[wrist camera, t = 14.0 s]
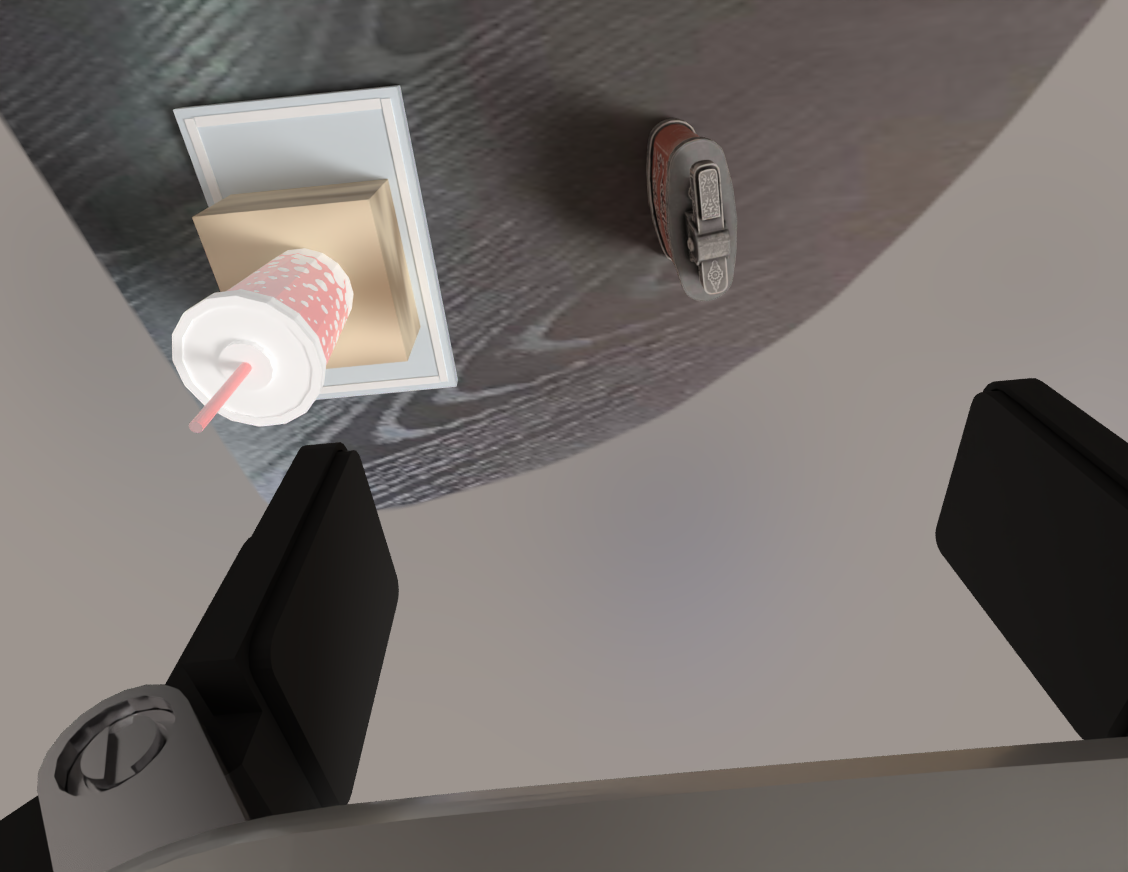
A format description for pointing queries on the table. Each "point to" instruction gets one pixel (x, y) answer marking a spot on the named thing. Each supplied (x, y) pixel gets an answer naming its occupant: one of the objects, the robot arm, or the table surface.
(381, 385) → the white tray
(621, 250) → the table surface
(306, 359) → the beverage cup
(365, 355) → the maple block
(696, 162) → the lighter
